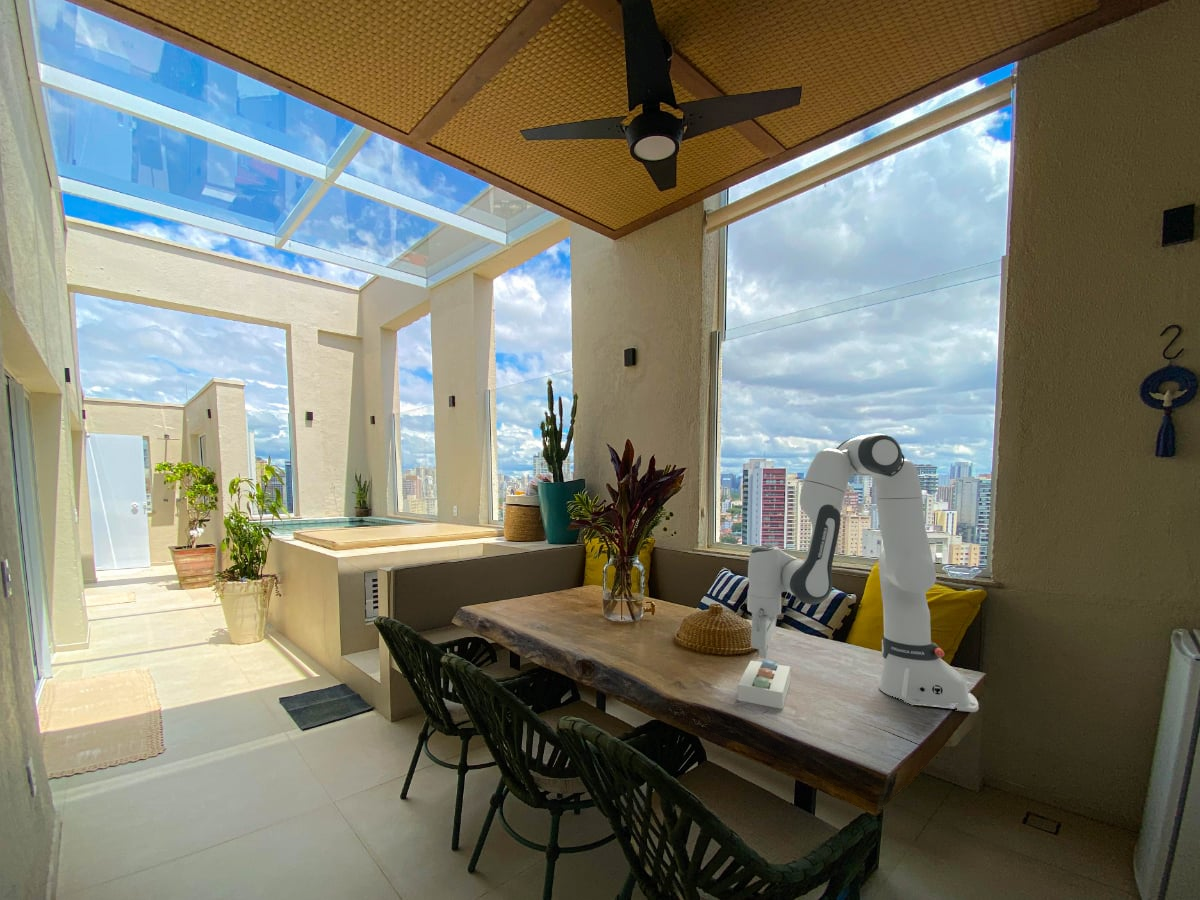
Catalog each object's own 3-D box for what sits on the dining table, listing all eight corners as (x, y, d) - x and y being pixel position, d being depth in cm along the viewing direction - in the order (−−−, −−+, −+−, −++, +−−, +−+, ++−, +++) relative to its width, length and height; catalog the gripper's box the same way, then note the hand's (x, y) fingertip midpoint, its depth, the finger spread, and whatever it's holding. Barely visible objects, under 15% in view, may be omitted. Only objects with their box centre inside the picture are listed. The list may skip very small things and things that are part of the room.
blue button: (776, 671, 146) (776, 661, 146) (774, 676, 143) (774, 665, 143) (763, 669, 148) (763, 659, 148) (761, 673, 144) (761, 663, 144)
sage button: (769, 689, 133) (769, 678, 134) (767, 695, 130) (767, 683, 130) (755, 687, 135) (755, 675, 135) (753, 692, 132) (753, 680, 132)
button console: (790, 681, 145) (790, 666, 146) (782, 709, 127) (782, 692, 128) (750, 674, 150) (750, 660, 150) (737, 700, 132) (737, 684, 132)
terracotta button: (773, 680, 140) (773, 669, 140) (771, 685, 136) (771, 673, 137) (759, 678, 141) (759, 667, 141) (757, 682, 138) (757, 671, 138)
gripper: (770, 615, 129) (770, 671, 129) (780, 599, 148) (780, 647, 147) (745, 612, 132) (744, 666, 131) (758, 596, 150) (757, 644, 150)
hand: (763, 656), depth 139 cm, fingers closed
